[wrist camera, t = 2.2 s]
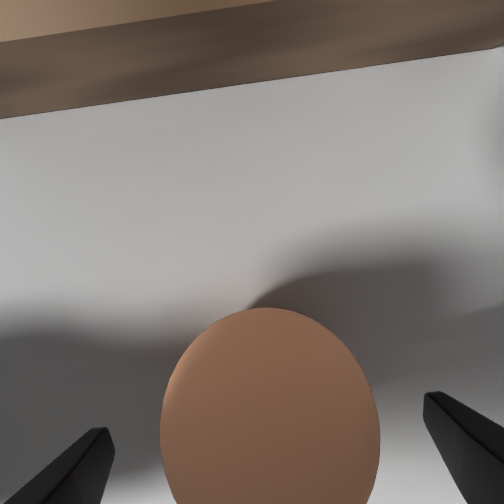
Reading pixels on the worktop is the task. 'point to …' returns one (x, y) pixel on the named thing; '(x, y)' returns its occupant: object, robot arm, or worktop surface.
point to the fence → (215, 43)
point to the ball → (269, 415)
